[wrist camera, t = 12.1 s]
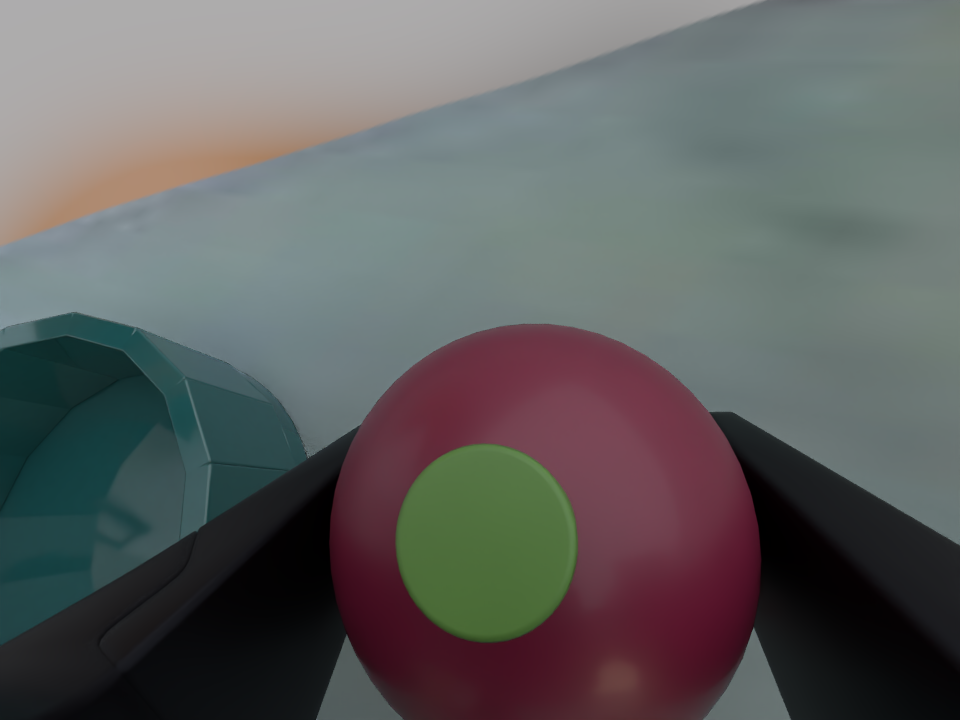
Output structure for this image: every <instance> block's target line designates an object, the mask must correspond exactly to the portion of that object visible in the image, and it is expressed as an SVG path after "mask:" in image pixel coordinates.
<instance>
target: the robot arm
mask: <svg viewBox="0 0 960 720" xmlns="http://www.w3.org/2000/svg"><path fill="white" fill-rule="evenodd" d="M709 413H710V414H711V416H712V417H713V419H714V420H715V422H716V423H717V425H718V426H719V428H720V429H721V430H722V432H723V433H724V435H725V436H726V438H727V440H728V442H729V444H730V446H731V448H732V450H733V452H734V453H735V455H736V457H737V459H738V461H739V463H740V465H741V468H742V471H743V474H744V476H745V479H746V482H747V485H748V487H749V490H750V493H751V496H752V500H753V505H754V509H755V514H756V518H757V523H758V528H759V539H760V550H761V579H760V595H759V600H758V606H757V611H756V616H755V622H754V628H755V631H756V633H757V636H758V638H759V641H760V643H761V646H762V648H763V651H764V653H765V656H766V658H767V661H768V663H769V666H770V668H771V671H772V673H773V676H774V678H775V681H776V683H777V686H778V688H779V691H780V693H781V696H782V698H783V701H784V703H785V706H786V708H787V711H788V713H789V716H790V718H791V720H960V545H958V544H956V543H955V542H953V541H951V540H950V539H948V538H946V537H944V536H943V535H941V534H939V533H938V532H936V531H934V530H933V529H931V528H929V527H927V526H926V525H924V524H922V523H921V522H919V521H917V520H915V519H914V518H912V517H910V516H909V515H907V514H905V513H904V512H902V511H900V510H898V509H897V508H895V507H893V506H892V505H890V504H888V503H886V502H885V501H883V500H881V499H880V498H878V497H876V496H875V495H873V494H871V493H869V492H868V491H866V490H864V489H863V488H861V487H859V486H857V485H856V484H854V483H852V482H851V481H849V480H847V479H846V478H844V477H842V476H840V475H839V474H837V473H835V472H834V471H832V470H830V469H828V468H827V467H825V466H823V465H822V464H820V463H818V462H817V461H815V460H813V459H811V458H810V457H808V456H806V455H805V454H803V453H801V452H800V451H798V450H796V449H794V448H793V447H791V446H789V445H788V444H786V443H784V442H782V441H781V440H779V439H777V438H776V437H774V436H772V435H771V434H769V433H767V432H765V431H764V430H762V429H760V428H759V427H757V426H755V425H753V424H752V423H750V422H748V421H747V420H745V419H743V418H742V417H740V416H738V415H736V414H735V413H732V412H709ZM361 425H362V424H361ZM361 425H360V426H361ZM360 426H358V427H357V428H355V429H354V430H352V431H350V432H349V433H347V434H346V435H344V436H343V437H341V438H339V439H338V440H336V441H335V442H333V443H332V444H330V445H329V446H327V447H325V448H324V449H322V450H321V451H319V452H318V453H316V454H314V455H313V456H311V457H310V458H308V459H307V460H305V461H303V462H302V463H300V464H299V465H297V466H296V467H294V468H292V469H291V470H289V471H288V472H286V473H285V474H283V475H282V476H280V477H278V478H277V479H275V480H274V481H272V482H271V483H269V484H267V485H266V486H264V487H263V488H261V489H260V490H258V491H256V492H255V493H253V494H252V495H250V496H249V497H247V498H245V499H244V500H242V501H241V502H239V503H238V504H236V505H234V506H233V507H231V508H230V509H228V510H227V511H225V512H224V513H222V514H220V515H219V516H217V517H216V518H214V519H213V520H211V521H209V522H208V523H206V524H205V525H203V526H202V527H200V528H199V530H198V532H197V531H194V532H192V533H190V534H189V535H187V536H186V537H184V538H183V539H181V540H180V541H178V542H176V543H175V544H173V545H172V546H170V547H169V548H167V549H165V550H164V551H162V552H160V553H159V554H157V555H156V556H154V557H152V558H151V559H149V560H148V561H146V562H144V563H143V564H141V565H139V566H138V567H136V568H135V569H133V570H131V571H129V572H128V573H126V574H124V575H123V576H121V577H119V578H117V579H116V580H114V581H112V582H111V583H109V584H107V585H105V586H104V587H102V588H100V589H99V590H97V591H95V592H93V593H92V594H90V595H88V596H87V597H85V598H83V599H81V600H80V601H78V602H76V603H74V604H73V605H71V606H69V607H67V608H66V609H64V610H62V611H60V612H59V613H57V614H55V615H53V616H52V617H50V618H48V619H46V620H45V621H43V622H41V623H39V624H38V625H36V626H34V627H32V628H31V629H29V630H27V631H25V632H24V633H22V634H20V635H18V636H17V637H15V638H13V639H11V640H10V641H8V642H6V643H4V644H3V645H1V646H0V720H316V718H317V715H318V712H319V709H320V707H321V704H322V701H323V698H324V696H325V693H326V690H327V687H328V684H329V682H330V679H331V676H332V673H333V670H334V668H335V665H336V662H337V659H338V657H339V654H340V651H341V648H342V645H343V643H344V640H345V637H346V634H347V633H346V631H345V628H344V625H343V622H342V619H341V615H340V612H339V609H338V605H337V602H336V598H335V592H334V586H333V581H332V575H331V565H330V548H329V539H330V520H331V512H332V506H333V500H334V494H335V489H336V485H337V482H338V478H339V475H340V471H341V468H342V465H343V462H344V460H345V457H346V455H347V453H348V450H349V448H350V445H351V443H352V441H353V439H354V437H355V435H356V434H357V432H358V430H359V428H360Z"/></svg>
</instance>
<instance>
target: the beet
mask: <svg viewBox="0 0 960 720" xmlns="http://www.w3.org/2000/svg"><path fill="white" fill-rule="evenodd" d="M329 548H330V565H331V575H332V581H333V586H334V592H335V598H336V602H337V605H338V609H339V612H340V615H341V619H342V622H343V625H344V628H345V631H346V633H347V635H348V638H349V640H350V642H351V645H352V647H353V649H354V652H355V654H356V656H357V658H358V659H359V661H360V663H361V664H362V666H363V668H364V670H365V671H366V673H367V675H368V676H369V678H370V680H371V681H372V683H373V684H374V685H375V687H376V688H377V689H378V691H379V692H380V693H381V695H382V696H383V697H384V698H385V700H386V701H387V702H388V704H389V705H390V706H391V707H392V708H393V709H394V710H395V711H396V712H397V713H398V714H399V715H400V716H401V717H402V718H403V719H404V720H702V719H703V718H704V717H706V716H707V714H708V713H709V712H710V710H711V709H712V708H713V706H714V705H715V704H716V702H717V701H718V700H719V698H720V697H721V696H722V694H723V693H724V691H725V690H726V689H727V687H728V685H729V683H730V681H731V680H732V678H733V676H734V674H735V672H736V670H737V668H738V666H739V664H740V662H741V660H742V658H743V656H744V653H745V650H746V647H747V644H748V641H749V638H750V635H751V632H752V630H753V627H754V622H755V616H756V611H757V606H758V600H759V595H760V579H761V550H760V539H759V528H758V523H757V518H756V514H755V509H754V505H753V500H752V496H751V493H750V490H749V487H748V485H747V482H746V479H745V476H744V474H743V471H742V468H741V465H740V463H739V461H738V459H737V457H736V455H735V453H734V452H733V450H732V448H731V446H730V444H729V442H728V440H727V438H726V436H725V435H724V433H723V432H722V430H721V429H720V428H719V426H718V425H717V423H716V422H715V420H714V419H713V417H712V416H711V414H710V413H709V412H708V411H707V409H706V408H705V407H704V406H703V405H702V404H701V403H700V401H699V400H698V399H697V398H696V397H695V396H694V395H693V393H692V392H691V391H690V390H689V389H688V388H687V387H685V386H684V385H683V384H682V383H681V382H680V381H679V380H678V379H677V378H675V377H674V376H673V375H672V374H671V373H670V372H669V371H667V370H666V369H664V368H663V367H662V366H660V365H659V364H657V363H656V362H654V361H653V360H652V359H650V358H649V357H647V356H646V355H644V354H642V353H640V352H638V351H636V350H635V349H633V348H631V347H629V346H627V345H625V344H623V343H621V342H619V341H616V340H613V339H611V338H608V337H606V336H603V335H600V334H598V333H594V332H590V331H586V330H582V329H578V328H574V327H567V326H559V325H552V324H519V325H511V326H502V327H497V328H493V329H489V330H485V331H480V332H476V333H474V334H471V335H468V336H466V337H463V338H460V339H458V340H455V341H453V342H451V343H449V344H447V345H445V346H443V347H441V348H440V349H438V350H436V351H434V352H432V353H431V354H429V355H428V356H426V357H425V358H423V359H422V360H421V361H419V362H418V363H416V364H415V365H413V366H412V367H411V368H410V369H409V370H408V371H406V372H405V373H404V374H403V375H402V376H401V377H400V378H398V379H397V380H396V381H395V382H394V383H393V384H392V386H391V387H390V388H389V389H388V390H387V391H386V392H385V393H384V394H383V395H382V397H381V398H380V399H379V400H378V401H377V403H376V404H375V405H374V407H373V408H372V410H371V411H370V412H369V414H368V415H367V417H366V418H365V419H364V421H363V423H362V425H361V426H360V428H359V430H358V432H357V434H356V435H355V437H354V439H353V441H352V443H351V445H350V448H349V450H348V453H347V455H346V457H345V460H344V462H343V465H342V468H341V471H340V475H339V478H338V482H337V485H336V489H335V494H334V500H333V506H332V512H331V520H330V539H329Z"/></svg>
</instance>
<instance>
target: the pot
mask: <svg viewBox="0 0 960 720" xmlns="http://www.w3.org/2000/svg"><path fill="white" fill-rule="evenodd" d="M305 460H307V457H306V454H305V451H304V448H303V444H302V441H301V439H300V437H299V435H298V432H297V430H296V428H295V426H294V424H293V422H292V420H291V419H290V417H289V416H288V414H287V413H286V411H285V410H284V408H283V407H282V405H281V404H280V403H279V401H278V400H277V399H276V398H275V397H274V396H273V395H272V394H271V393H270V392H269V390H267V389H266V388H265V387H264V386H262V385H261V384H260V383H259V382H257V381H256V380H255V379H254V378H252V377H250V376H248V375H246V374H245V373H243V372H241V371H239V370H237V369H235V368H233V367H232V366H231V365H230V364H228V363H226V362H223V361H221V360H218V359H216V358H213V357H211V356H208V355H206V354H203V353H200V352H198V351H195V350H193V349H190V348H188V347H185V346H183V345H180V344H178V343H175V342H172V341H170V340H167V339H165V338H162V337H160V336H157V335H155V334H152V333H150V332H147V331H144V330H142V329H139V328H137V327H133V326H129V325H125V324H121V323H117V322H113V321H109V320H105V319H101V318H97V317H93V316H89V315H85V314H81V313H77V312H72V313H67V314H63V315H58V316H53V317H49V318H44V319H40V320H35V321H31V322H26V323H22V324H17V325H12V326H8V327H6V328H4V329H2V330H1V331H0V646H1V645H3V644H4V643H6V642H8V641H10V640H11V639H13V638H15V637H17V636H18V635H20V634H22V633H24V632H25V631H27V630H29V629H31V628H32V627H34V626H36V625H38V624H39V623H41V622H43V621H45V620H46V619H48V618H50V617H52V616H53V615H55V614H57V613H59V612H60V611H62V610H64V609H66V608H67V607H69V606H71V605H73V604H74V603H76V602H78V601H80V600H81V599H83V598H85V597H87V596H88V595H90V594H92V593H93V592H95V591H97V590H99V589H100V588H102V587H104V586H105V585H107V584H109V583H111V582H112V581H114V580H116V579H117V578H119V577H121V576H123V575H124V574H126V573H128V572H129V571H131V570H133V569H135V568H136V567H138V566H139V565H141V564H143V563H144V562H146V561H148V560H149V559H151V558H152V557H154V556H156V555H157V554H159V553H160V552H162V551H164V550H165V549H167V548H169V547H170V546H172V545H173V544H175V543H176V542H178V541H180V540H181V539H183V538H184V537H186V536H187V535H189V534H190V533H192V532H194V531H197V532H198V530H199V528H200V527H202V526H203V525H205V524H206V523H208V522H209V521H211V520H213V519H214V518H216V517H217V516H219V515H220V514H222V513H224V512H225V511H227V510H228V509H230V508H231V507H233V506H234V505H236V504H238V503H239V502H241V501H242V500H244V499H245V498H247V497H249V496H250V495H252V494H253V493H255V492H256V491H258V490H260V489H261V488H263V487H264V486H266V485H267V484H269V483H271V482H272V481H274V480H275V479H277V478H278V477H280V476H282V475H283V474H285V473H286V472H288V471H289V470H291V469H292V468H294V467H296V466H297V465H299V464H300V463H302V462H303V461H305Z"/></svg>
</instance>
